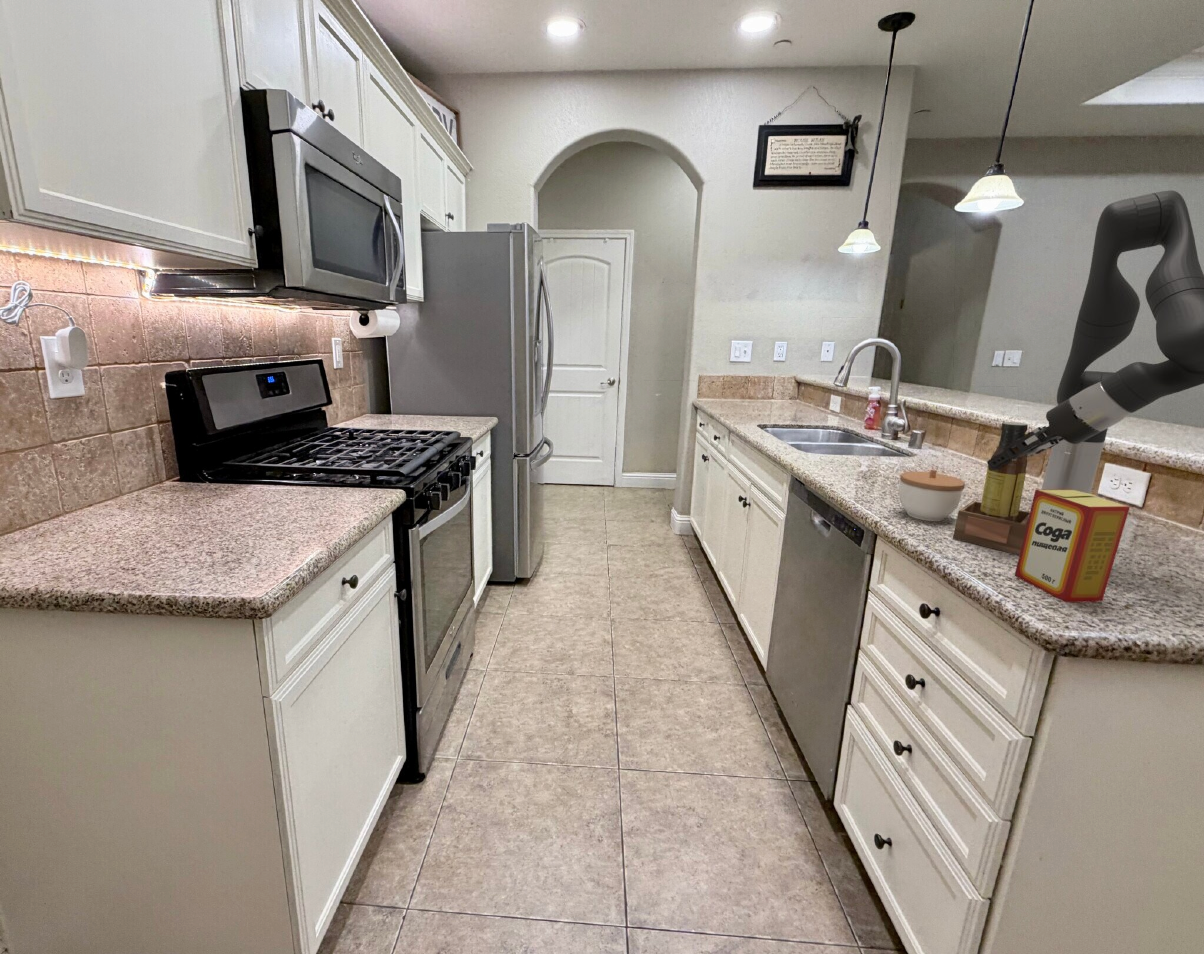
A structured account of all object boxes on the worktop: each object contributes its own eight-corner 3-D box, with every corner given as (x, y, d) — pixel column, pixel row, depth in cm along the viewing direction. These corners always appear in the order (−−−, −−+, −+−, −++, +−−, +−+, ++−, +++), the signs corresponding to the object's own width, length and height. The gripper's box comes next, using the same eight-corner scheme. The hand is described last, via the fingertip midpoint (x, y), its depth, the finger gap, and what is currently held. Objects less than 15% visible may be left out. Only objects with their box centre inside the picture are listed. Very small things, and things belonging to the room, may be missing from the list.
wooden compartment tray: (967, 526, 118) (972, 500, 117) (1092, 556, 104) (1101, 526, 102) (952, 538, 111) (958, 510, 109) (1085, 572, 96) (1093, 540, 95)
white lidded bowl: (938, 529, 116) (948, 479, 113) (883, 512, 127) (890, 466, 124) (968, 520, 123) (978, 473, 120) (912, 504, 133) (920, 461, 130)
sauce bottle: (1003, 516, 112) (1025, 421, 108) (1023, 526, 106) (1046, 426, 101) (970, 514, 113) (990, 420, 108) (988, 524, 107) (1009, 424, 102)
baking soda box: (1102, 601, 86) (1130, 504, 81) (1065, 602, 85) (1091, 504, 81) (1048, 575, 95) (1071, 487, 91) (1014, 575, 94) (1036, 487, 90)
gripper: (1087, 394, 101) (1001, 446, 114) (1057, 397, 93) (968, 452, 106) (1117, 427, 98) (1025, 476, 111) (1089, 433, 90) (993, 484, 103)
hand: (998, 464), depth 108 cm, fingers closed on sauce bottle, 6 cm apart
